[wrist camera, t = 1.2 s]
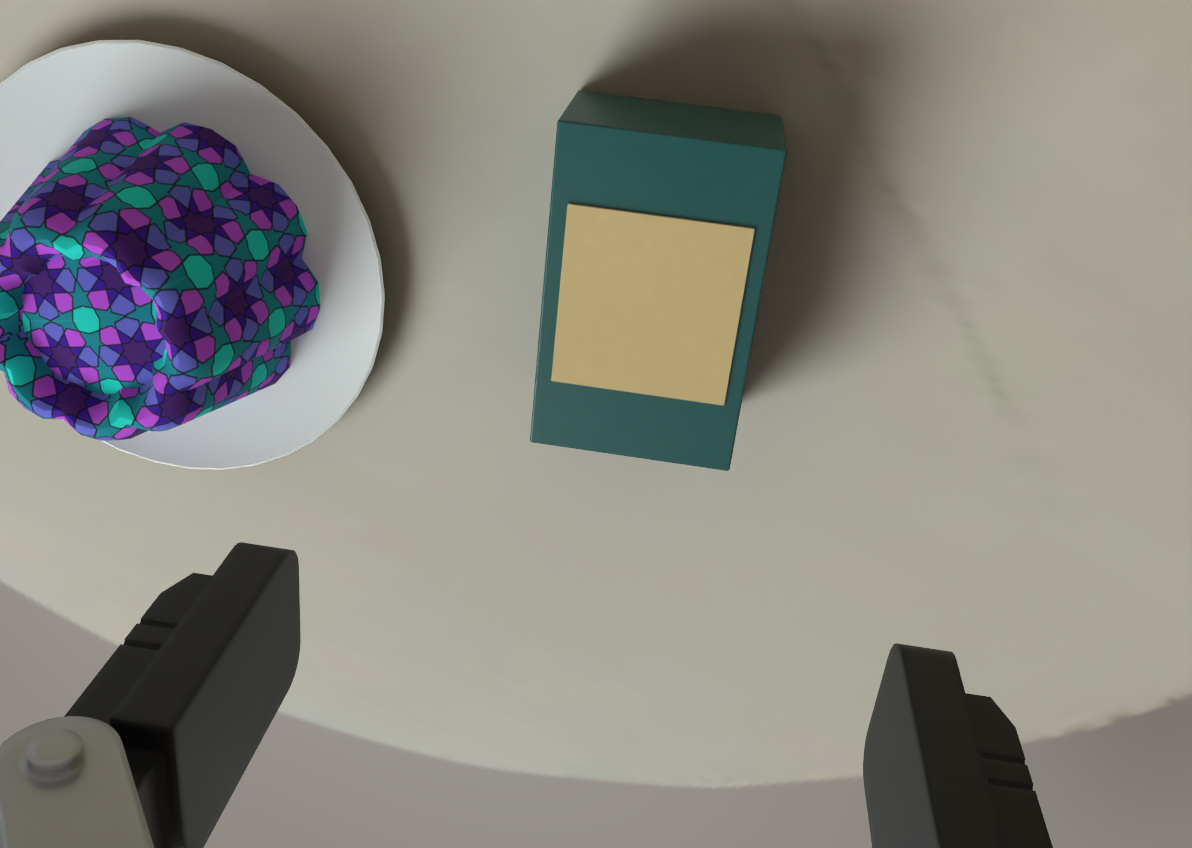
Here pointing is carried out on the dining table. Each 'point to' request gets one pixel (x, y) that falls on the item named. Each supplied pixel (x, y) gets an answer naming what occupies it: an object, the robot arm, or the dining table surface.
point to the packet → (653, 276)
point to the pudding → (178, 258)
